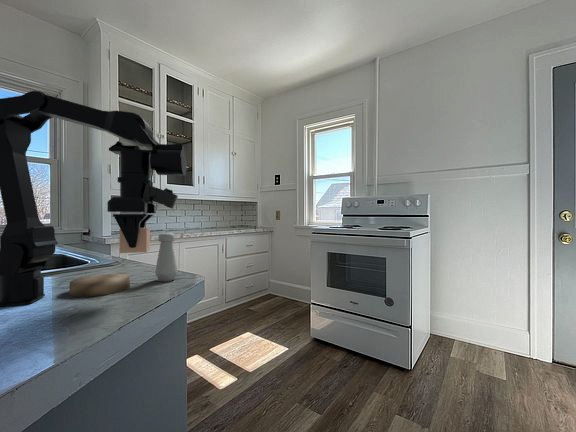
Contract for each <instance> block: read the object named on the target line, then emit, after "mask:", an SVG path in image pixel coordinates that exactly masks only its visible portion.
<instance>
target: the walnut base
mask: <svg viewBox="0 0 576 432" xmlns="http://www.w3.org/2000/svg"><path fill="white" fill-rule="evenodd" d="M130 279H131V276H130V275H129V274H124V273H123V274H122V273H110V274H109V273H108V274H98V275H90V276H84V277H83V276H82V277H80V278H79V277H78V278H76V279H73V280H70V281H69V295H70V296H73V297H84V298H85V297H97V296H107V295H111V294H115V293H121V292H123V291H126V290H128V289H130V288H131V287H130V286H131V284H130V283H131V280H130Z"/></svg>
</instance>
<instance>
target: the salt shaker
mask: <svg viewBox="0 0 576 432" xmlns="http://www.w3.org/2000/svg"><path fill="white" fill-rule="evenodd" d="M157 241H158V242H160V243H159V250H158V255H157V260H156V266H155V271H154V273H155V276H156V278H157V280H158V281H159V282H172V280H173V281H174V280H175V279H176V276H177V274H178V273H179V270H178V266H177V265H178V264H177V259H176V253H175V248H174V241H176V236H175V234H174V233H173V232H162V233H159V234H158V237H157Z"/></svg>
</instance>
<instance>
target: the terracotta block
mask: <svg viewBox="0 0 576 432" xmlns="http://www.w3.org/2000/svg"><path fill="white" fill-rule="evenodd" d="M150 249H151V227H145V228H140V229H139V234H138V240H137V245H136V247H135V248H130V247H129V245H128V243H127V241H126V239H125V237H124V235H123V233H122V231H121V229H120V228H119V254H133V253H137V254H139V253H147V252H149V251H151V250H150Z"/></svg>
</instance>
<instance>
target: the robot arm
mask: <svg viewBox="0 0 576 432" xmlns="http://www.w3.org/2000/svg"><path fill="white" fill-rule="evenodd" d="M26 114H27V115H26ZM22 115H24V116H22ZM52 118H54V119H59V120H61V121H66V122H69V123H74V124H77V125H81V126H85V127H87V128H91V129H95V130H99V131H102V132H106V133H108V134H110V135H112V136H115V137H116V138H118V139H120V140H122V141H125V142H127V143H128V144H131V145H127V144H126V145H125V144H124V143H122V141H119V140H117V141H116V143H114V144H113V145H111V146H110V147H108V151H109V152H111V153H113V154H115V155H119V177H118V176H117V183H119V196H113V197H111V198H110V199H109V200H108V201H107V203H106V204H107V207H106V208H107V212H108V213H112V217H114V220H115V221H116V223H117V225H118V227H119V230H120V229H121V231H122V233H123V235H124V237H125V239H126V241H127V243H128V245H129V247H130V248H135V247H136V245H137V240H138V234H139V229H140V228H146V224H147V222H148V221H149V220H150V219H151V218H153V217H154V216H155V215H154V214H157V205H156V204H154V202H155V203H158V204H161V205H162V206H165V207H167V208H169V209H174V207H175V204H176V202H177V199H178V196H179V195H177V194H176V193H175V194H174V192H173V190H172V189H169V188H167V187H166V188H164V189H161V188H158V187H155V186H154V184H153V181H152V180H151V170H152V171H155V173H156V174H157V176H186V174H187V172H188V171H187V170H188V167H187V166H188V165H187V164H188V162H187V161H186V160H187V159H186V153H185V147H184V145H183V144H182V143H173V144H165V143H161V144H160V143H159V142H158V141H157V140H156V139H155V137H154V131H153V129H152V127H151V125H150V124H149V123H148V122H147V121H146V120H144V118H143V117H142V116H140V115H139V114H138V113H136V112H131V111H125V110H124V111H123V110H110V111H109V110H102V109H97V108H94V107H91V106H87V105H84V104H81V103H77V102H73V101H70V100H67V99H62V98H58V97H57V96H56V97H55V96H53V95H48V94H45V93H44V92H42V91H40V90H31V91H28V92H26V93H24V94H22V95H16V96H11V97H10V96H8V97H3V98H0V198H1V200H2V206H3V210H4V216H5V219H6V224H5V227H4V229H3V230H2V233H1V235H0V307H9V306H10V307H11V306H21V305H30V304H32V303H34V302H36V301H38V300H41V298H44V297H45V296H46V294H45V292H44V291H45V284H44V283H45V280H44V279H45V277H44V276H43V275H42V269H45V268H46V266H47V264H48V262H49V259H51V258H52V256H53V255H54V254H55V252H56V246H57V245H59V242H58V241H57V239H56V234H55V231H56V230H55V228H54V226H52V225H51V226H50V225H49V226H46V225H45V224H44V223H43V222H42V221H41V219H40V218H39V212H38V208H37V203H36V199H35V194H34V188H33V184H32V183H33V182H32V180H31V179H32V178H31V175H30V170H29V169H30V168H29V164H28V160H27V151H28V149H29V147H30V145H31V144H32V143H31V142H32V133H35V132H37V131H39V130H40V129H42V128H43V127H44V125H46V123H47V122H48V121H49V120H50V119H52ZM141 147H145V148H147V149H141ZM117 212H119V213H117Z"/></svg>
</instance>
